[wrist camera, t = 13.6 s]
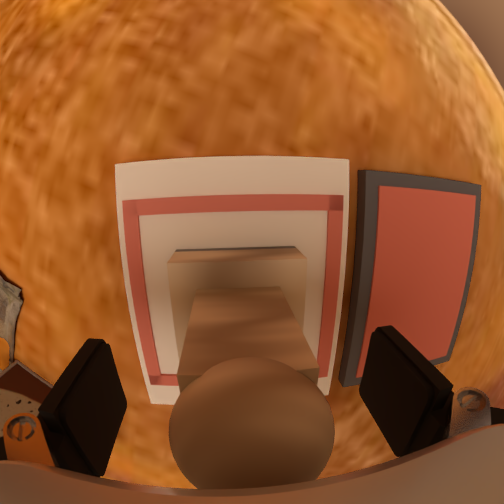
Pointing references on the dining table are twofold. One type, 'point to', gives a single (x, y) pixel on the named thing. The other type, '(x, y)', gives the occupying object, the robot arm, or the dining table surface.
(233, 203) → the marked board
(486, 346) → the dining table surface
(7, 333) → the parchment
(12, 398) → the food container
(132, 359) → the dining table surface
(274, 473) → the stamp
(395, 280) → the ink pad
